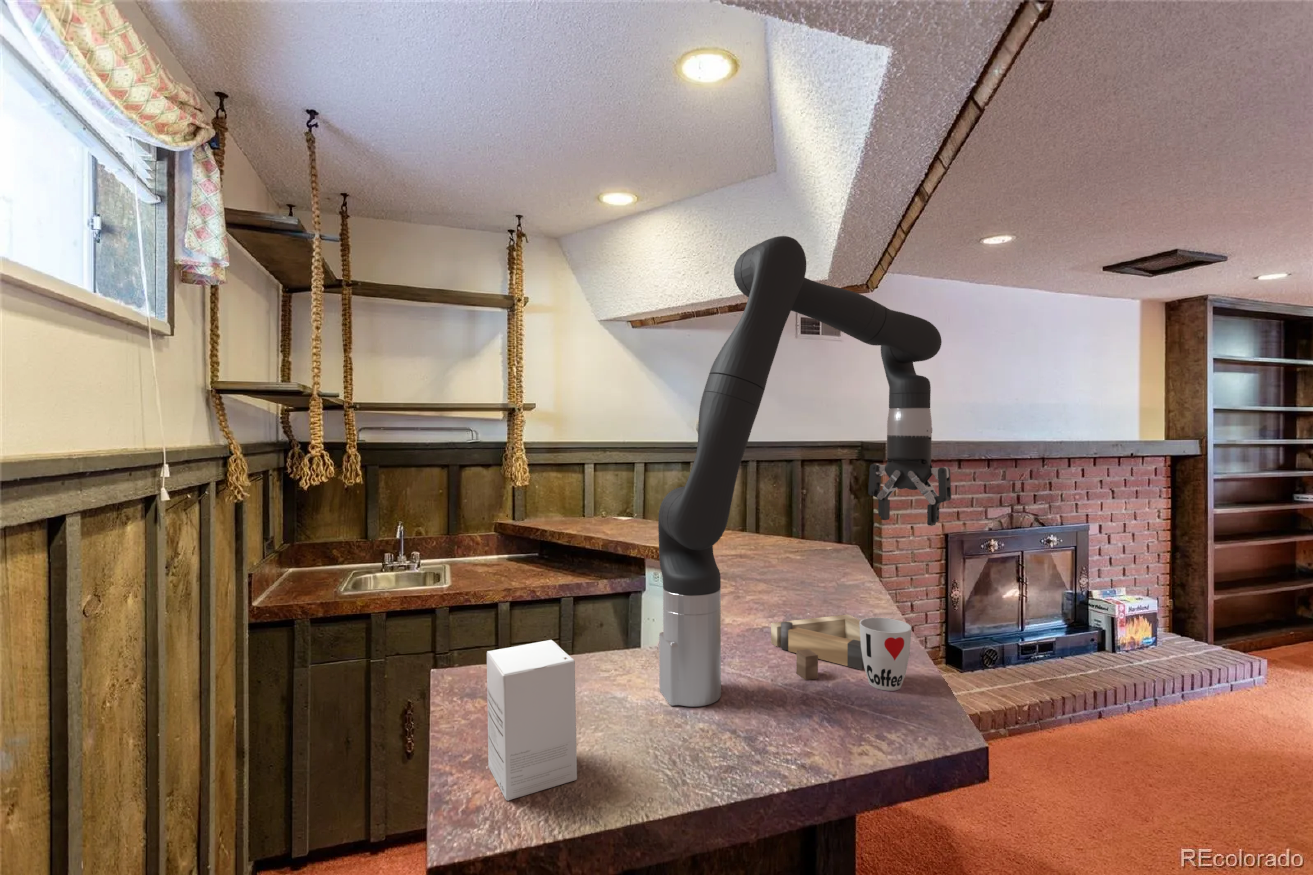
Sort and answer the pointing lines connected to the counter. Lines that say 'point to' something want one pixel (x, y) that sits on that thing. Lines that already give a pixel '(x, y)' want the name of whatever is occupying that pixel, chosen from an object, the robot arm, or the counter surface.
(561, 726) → the supplement box
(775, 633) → the jointed wooden sticks
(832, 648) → the leg
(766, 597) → the counter surface
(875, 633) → the cup
